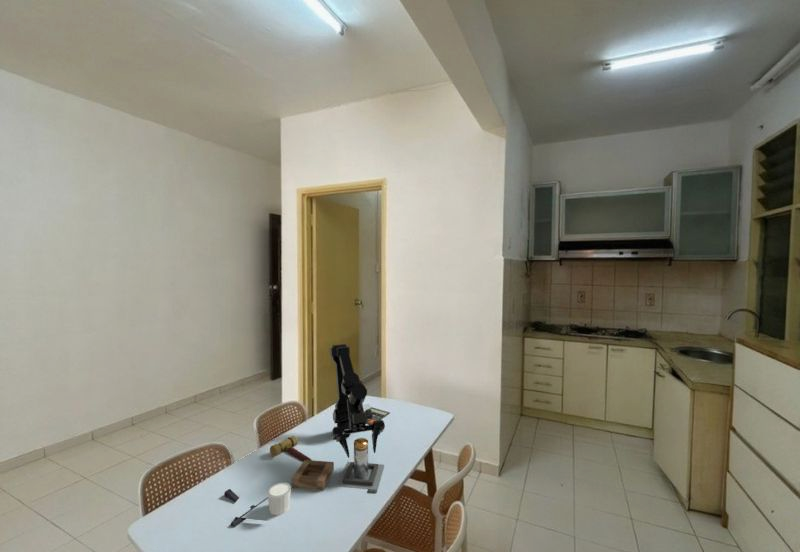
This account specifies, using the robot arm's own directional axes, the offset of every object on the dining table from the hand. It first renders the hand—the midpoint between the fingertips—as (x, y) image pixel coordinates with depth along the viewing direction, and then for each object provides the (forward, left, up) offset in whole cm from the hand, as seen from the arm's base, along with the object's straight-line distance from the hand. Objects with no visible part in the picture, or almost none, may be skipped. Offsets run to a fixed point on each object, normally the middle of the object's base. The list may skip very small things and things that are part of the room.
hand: (361, 454), depth 121 cm
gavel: (-10, -28, -10) cm, 32 cm away
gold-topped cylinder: (-1, -1, -8) cm, 8 cm away
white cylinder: (+18, -22, -9) cm, 29 cm away
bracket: (+16, -36, -10) cm, 40 cm away
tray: (-1, -1, -9) cm, 9 cm away
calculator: (-48, -7, -10) cm, 50 cm away
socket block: (+3, -17, -9) cm, 19 cm away
